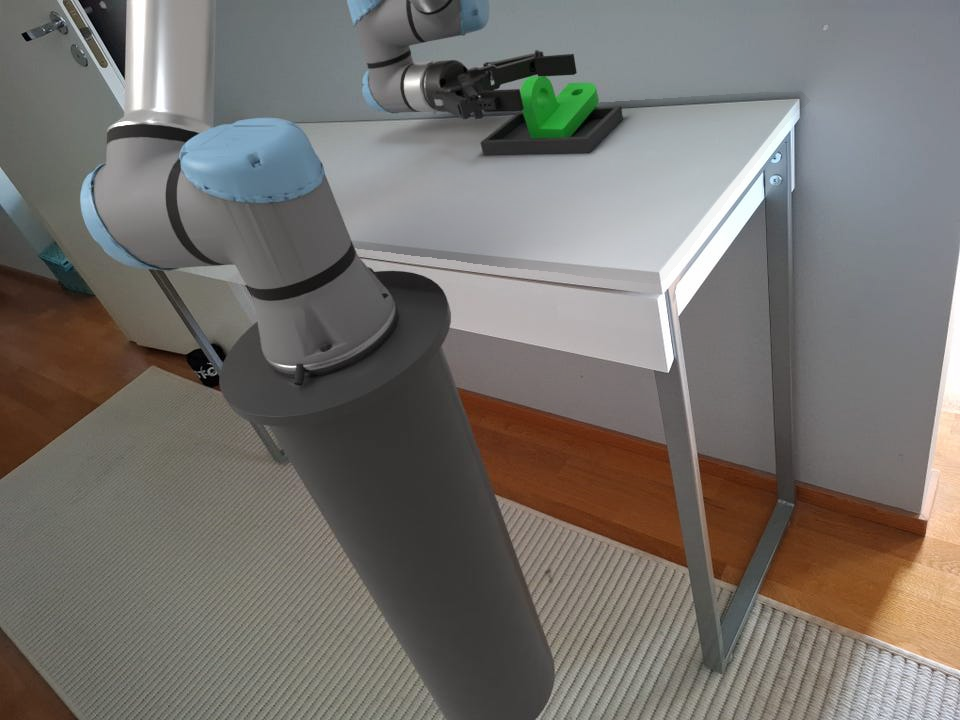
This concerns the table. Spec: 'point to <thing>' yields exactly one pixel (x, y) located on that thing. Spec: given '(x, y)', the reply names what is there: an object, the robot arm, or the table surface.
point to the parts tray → (583, 140)
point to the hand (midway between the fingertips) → (548, 81)
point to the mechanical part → (556, 107)
